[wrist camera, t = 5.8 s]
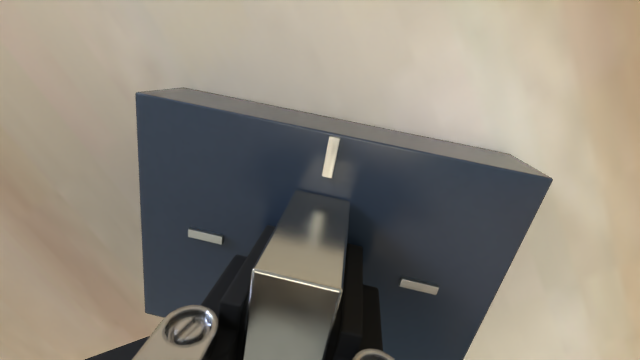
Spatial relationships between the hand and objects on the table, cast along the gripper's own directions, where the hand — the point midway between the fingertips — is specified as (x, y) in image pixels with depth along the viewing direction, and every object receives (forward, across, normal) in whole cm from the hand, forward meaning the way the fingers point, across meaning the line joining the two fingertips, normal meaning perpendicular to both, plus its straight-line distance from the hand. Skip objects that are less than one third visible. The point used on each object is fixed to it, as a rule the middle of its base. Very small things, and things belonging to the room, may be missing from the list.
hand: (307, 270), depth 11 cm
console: (+4, 0, 0) cm, 4 cm away
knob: (+1, 0, 0) cm, 1 cm away
